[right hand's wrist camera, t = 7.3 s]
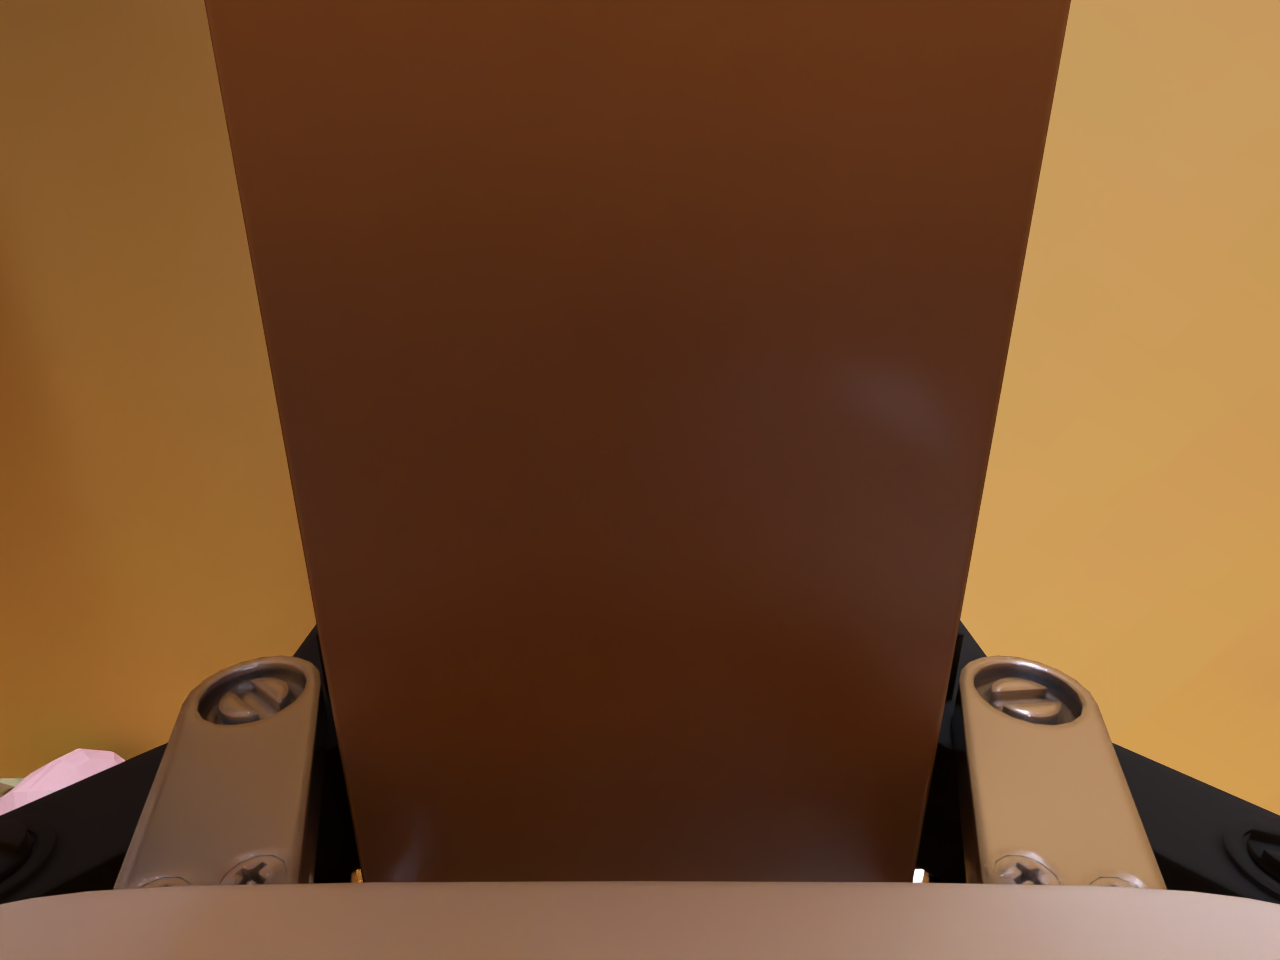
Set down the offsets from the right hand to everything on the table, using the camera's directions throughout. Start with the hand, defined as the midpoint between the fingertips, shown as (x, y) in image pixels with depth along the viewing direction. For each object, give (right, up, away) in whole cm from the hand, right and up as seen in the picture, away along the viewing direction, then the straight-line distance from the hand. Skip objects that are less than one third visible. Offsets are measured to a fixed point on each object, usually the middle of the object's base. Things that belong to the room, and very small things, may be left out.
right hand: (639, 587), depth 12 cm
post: (0, +18, -3) cm, 19 cm away
